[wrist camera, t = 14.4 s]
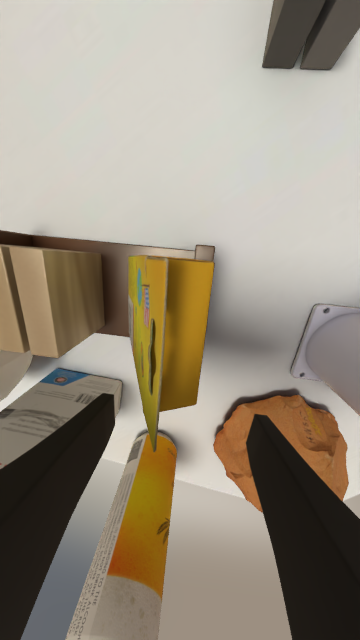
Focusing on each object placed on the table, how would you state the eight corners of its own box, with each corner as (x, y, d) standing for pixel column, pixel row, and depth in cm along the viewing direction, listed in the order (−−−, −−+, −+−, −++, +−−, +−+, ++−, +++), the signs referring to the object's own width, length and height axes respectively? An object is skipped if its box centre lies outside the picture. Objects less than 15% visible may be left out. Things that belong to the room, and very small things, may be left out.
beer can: (159, 465, 26) (115, 713, 12) (126, 443, 25) (35, 682, 11) (186, 445, 24) (172, 709, 10) (151, 421, 23) (81, 671, 9)
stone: (231, 368, 23) (300, 412, 13) (318, 391, 26) (425, 440, 16) (197, 480, 22) (240, 611, 13) (288, 489, 26) (379, 599, 16)
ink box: (58, 397, 23) (-67, 521, 12) (56, 366, 22) (-91, 476, 11) (120, 410, 23) (50, 549, 12) (123, 380, 22) (44, 508, 10)
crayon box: (158, 333, 18) (215, 441, 8) (128, 335, 17) (146, 461, 7) (162, 257, 16) (252, 263, 5) (127, 253, 15) (154, 254, 4)
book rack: (212, 252, 16) (225, 247, 9) (199, 341, 19) (201, 390, 12) (26, 235, 17) (-96, 216, 10) (41, 322, 20) (-45, 356, 13)
